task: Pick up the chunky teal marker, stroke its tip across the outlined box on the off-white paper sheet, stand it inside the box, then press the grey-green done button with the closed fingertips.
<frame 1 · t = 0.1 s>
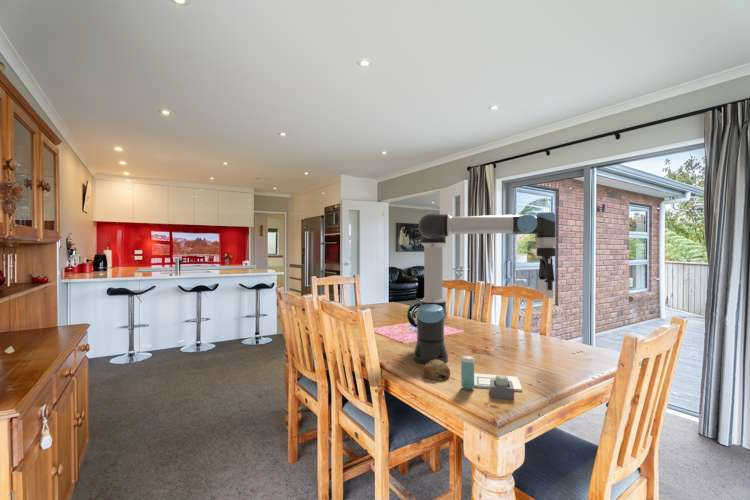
hand: (545, 295, 155), 28 cm above the table, fingers open, 13 cm apart
done button: (501, 383, 118), point 4 cm above the table, slide at 0.0 cm
bread roll: (435, 376, 135), on the table
marker: (467, 388, 123), on the table
button housing: (501, 394, 118), on the table
sheet: (496, 382, 128), on the table
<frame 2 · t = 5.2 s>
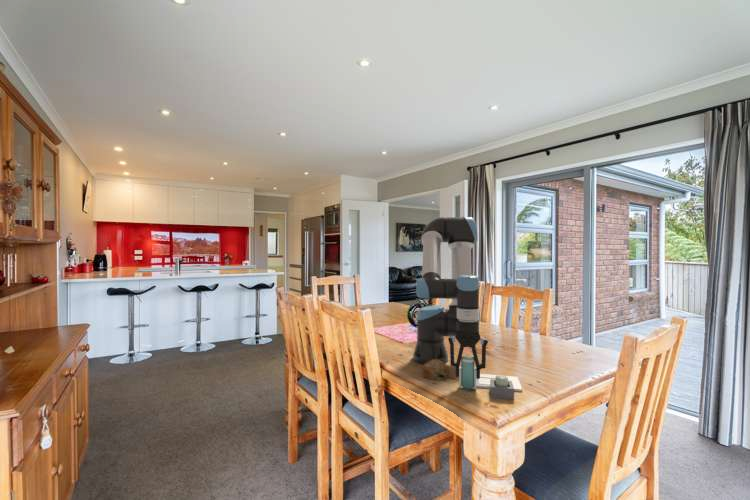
hand: (467, 386, 123), 1 cm above the table, fingers closed on marker, 4 cm apart
marker: (467, 388, 123), on the table, touching gripper
everything else where it was.
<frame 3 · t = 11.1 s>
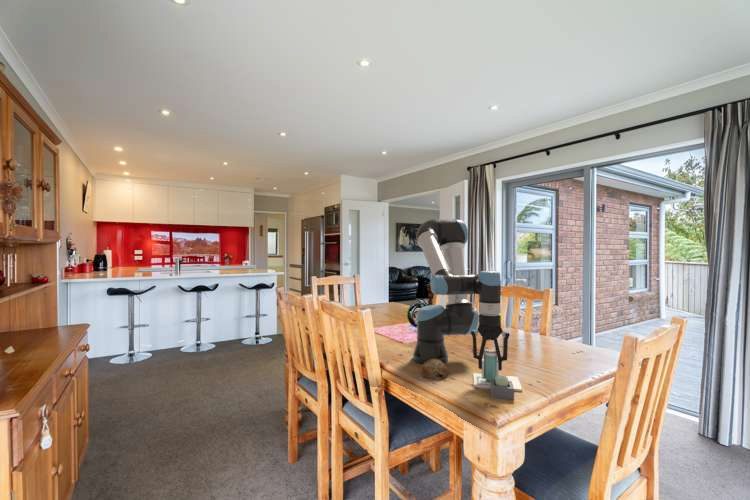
hand: (490, 378, 127), 2 cm above the table, fingers closed on marker, 4 cm apart
marker: (490, 381, 127), point 1 cm above the table, touching gripper
when the fingers open (2 cm above the table, at t = 11.8 s): marker stays where it is, resting on sheet.
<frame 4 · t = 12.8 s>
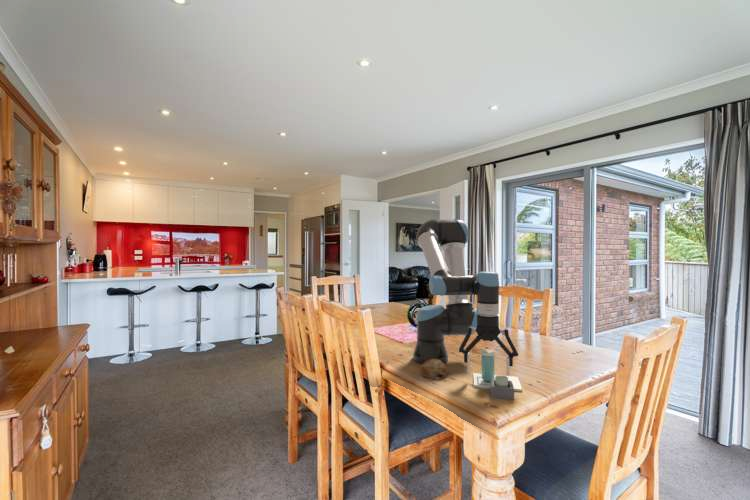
hand: (487, 373, 127), 4 cm above the table, fingers open, 13 cm apart
marker: (488, 381, 127), point 1 cm above the table, touching sheet
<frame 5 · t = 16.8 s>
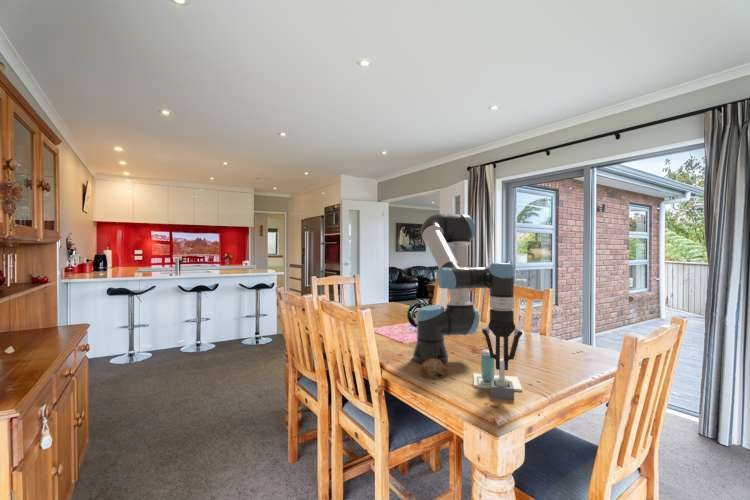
hand: (501, 379, 118), 5 cm above the table, fingers closed
done button: (501, 385, 118), point 3 cm above the table, slide at 0.8 cm, touching gripper
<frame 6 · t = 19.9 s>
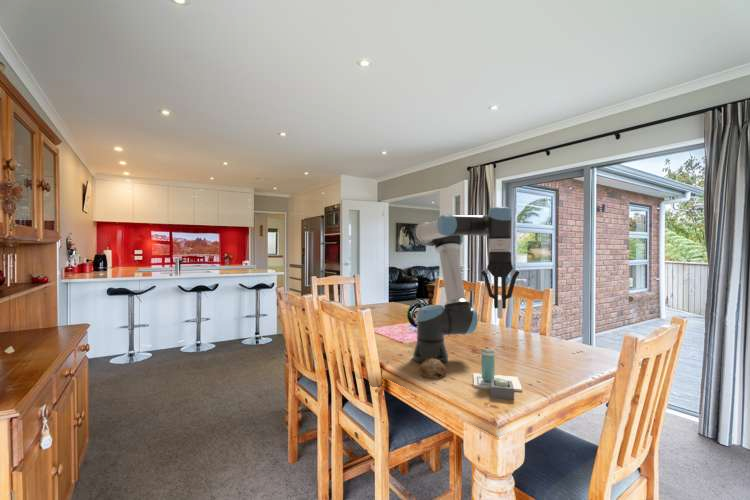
hand: (499, 317, 124), 24 cm above the table, fingers closed
done button: (501, 387, 118), point 2 cm above the table, slide at 1.2 cm
at the end: marker inside the target area on the sheet (1.0 cm from its centre), point 0.8 cm above the sheet's base; marker tilted 1°; done button slide at 1.2 cm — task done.
